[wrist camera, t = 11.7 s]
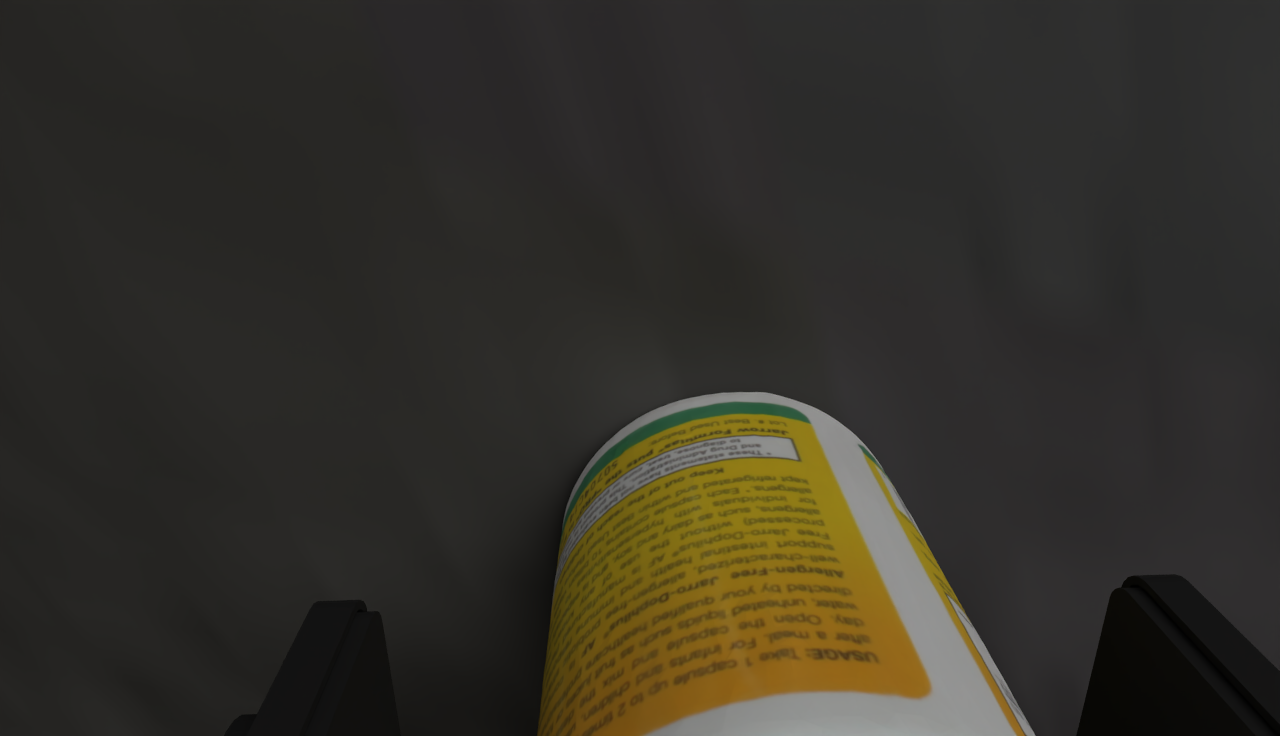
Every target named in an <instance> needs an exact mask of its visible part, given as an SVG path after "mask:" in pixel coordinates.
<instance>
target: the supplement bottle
mask: <svg viewBox="0 0 1280 736" xmlns="http://www.w3.org/2000/svg"><path fill="white" fill-rule="evenodd" d="M537 736H1035V734H1034V732H1033V730H1032V729H1031V727H1030V725H1029V723H1028V722H1027V720H1026V718H1025V716H1024V715H1023V713H1022V711H1021V709H1020V708H1019V706H1018V704H1017V702H1016V701H1015V699H1014V697H1013V695H1012V693H1011V691H1010V690H1009V688H1008V686H1007V684H1006V682H1005V681H1004V679H1003V677H1002V675H1001V673H1000V672H999V670H998V668H997V667H996V665H995V663H994V662H993V660H992V658H991V657H990V655H989V653H988V651H987V649H986V647H985V645H984V643H983V642H982V640H981V639H980V637H979V635H978V634H977V632H976V630H975V629H974V627H973V625H972V624H971V622H970V620H969V619H968V617H967V615H966V613H965V611H964V610H963V608H962V606H961V604H960V603H959V601H958V599H957V597H956V596H955V594H954V592H953V590H952V588H951V587H950V585H949V583H948V581H947V580H946V578H945V576H944V574H943V573H942V571H941V569H940V567H939V565H938V564H937V562H936V560H935V558H934V556H933V555H932V553H931V551H930V549H929V547H928V545H927V544H926V542H925V540H924V538H923V536H922V534H921V532H920V531H919V529H918V527H917V525H916V523H915V522H914V520H913V518H912V516H911V515H910V513H909V512H908V510H907V509H906V507H905V505H904V503H903V501H902V500H901V498H900V496H899V495H898V493H897V491H896V490H895V488H894V486H893V485H892V483H891V481H890V479H889V478H888V476H887V475H886V474H885V472H884V470H883V469H882V467H881V465H880V464H879V462H878V461H877V460H876V458H875V457H874V455H873V454H872V453H871V451H870V450H869V449H868V448H867V447H866V446H865V444H864V443H863V442H862V441H861V440H860V439H859V438H858V437H857V436H856V435H855V434H854V433H852V432H851V431H850V430H849V429H847V428H846V427H845V426H843V425H842V424H841V423H840V422H838V421H837V420H835V419H834V418H832V417H830V416H829V415H827V414H826V413H824V412H822V411H820V410H818V409H816V408H814V407H812V406H809V405H807V404H804V403H801V402H798V401H796V400H793V399H789V398H786V397H782V396H778V395H775V394H771V393H765V392H733V393H718V394H711V395H703V396H698V397H693V398H688V399H684V400H679V401H676V402H674V403H671V404H668V405H665V406H662V407H660V408H657V409H655V410H652V411H650V412H648V413H646V414H645V415H643V416H641V417H639V418H637V419H636V420H634V421H633V422H631V423H630V424H628V425H627V426H626V427H624V428H623V429H621V430H620V431H619V432H618V433H616V434H615V435H614V436H613V437H612V438H611V439H610V440H609V441H608V442H606V443H605V444H604V445H603V446H602V447H601V448H600V449H599V450H598V452H597V453H596V454H595V455H594V457H593V458H592V459H591V460H590V462H589V463H588V464H587V466H586V467H585V469H584V470H583V472H582V474H581V475H580V477H579V479H578V481H577V483H576V484H575V486H574V488H573V490H572V493H571V496H570V498H569V501H568V504H567V507H566V511H565V515H564V521H563V527H562V534H561V540H560V546H559V554H558V563H557V572H556V577H555V584H554V593H553V600H552V609H551V621H550V630H549V638H548V645H547V655H546V663H545V668H544V678H543V689H542V697H541V706H540V716H539V724H538V732H537Z"/></svg>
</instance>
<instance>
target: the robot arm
mask: <svg viewBox="0 0 1280 736" xmlns="http://www.w3.org/2000/svg"><path fill="white" fill-rule="evenodd" d="M224 736H401V735H400V729H399V723H398V716H397V710H396V704H395V698H394V692H393V685H392V679H391V673H390V667H389V660H388V654H387V648H386V642H385V635H384V629H383V623H382V618H381V615H380V613H379V612H377V611H374V612H367V608H366V605H365V603H364V601H361V600H346V601H318V602H316V603H314V604H313V606H312V607H311V609H310V610H309V612H308V614H307V616H306V618H305V620H304V622H303V624H302V626H301V628H300V630H299V632H298V634H297V636H296V638H295V640H294V642H293V644H292V646H291V648H290V650H289V652H288V654H287V656H286V658H285V660H284V662H283V664H282V666H281V668H280V670H279V672H278V674H277V676H276V678H275V680H274V682H273V684H272V686H271V688H270V690H269V692H268V694H267V696H266V698H265V700H264V702H263V704H262V706H261V708H260V710H259V712H258V714H252V715H241V716H239V717H238V718H237V719H235V720H234V721H233V723H232V724H231V726H230V727H229V729H228V730H227V731H226V733H225V735H224ZM1077 736H1280V671H1279V670H1278V669H1277V668H1276V667H1275V666H1274V665H1273V664H1272V663H1271V662H1270V661H1269V660H1268V659H1267V658H1266V657H1265V656H1263V655H1262V654H1261V653H1260V652H1259V651H1258V650H1257V649H1256V648H1255V647H1254V646H1253V645H1252V644H1251V643H1250V642H1249V641H1248V640H1247V639H1246V638H1245V637H1244V636H1243V635H1242V634H1241V633H1240V632H1239V631H1238V630H1237V629H1236V628H1235V627H1234V626H1233V625H1232V624H1231V623H1230V622H1229V621H1228V620H1227V619H1226V618H1225V617H1224V616H1223V615H1222V614H1221V613H1220V612H1219V611H1218V610H1217V609H1216V608H1215V607H1214V606H1213V605H1212V604H1211V603H1210V602H1209V601H1208V600H1207V599H1206V598H1205V597H1204V596H1203V595H1202V594H1201V593H1199V592H1198V591H1197V590H1196V589H1195V588H1194V587H1193V586H1192V585H1191V584H1190V583H1189V582H1188V581H1187V580H1186V579H1184V578H1183V577H1182V576H1178V575H1143V576H1131V577H1128V578H1127V579H1126V580H1125V581H1124V582H1123V585H1122V587H1121V588H1117V589H1115V590H1114V591H1113V592H1112V594H1111V596H1110V599H1109V603H1108V607H1107V611H1106V616H1105V620H1104V624H1103V628H1102V632H1101V636H1100V640H1099V645H1098V649H1097V653H1096V657H1095V661H1094V665H1093V669H1092V674H1091V678H1090V682H1089V686H1088V690H1087V694H1086V698H1085V703H1084V707H1083V711H1082V715H1081V719H1080V723H1079V728H1078V732H1077Z"/></svg>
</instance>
